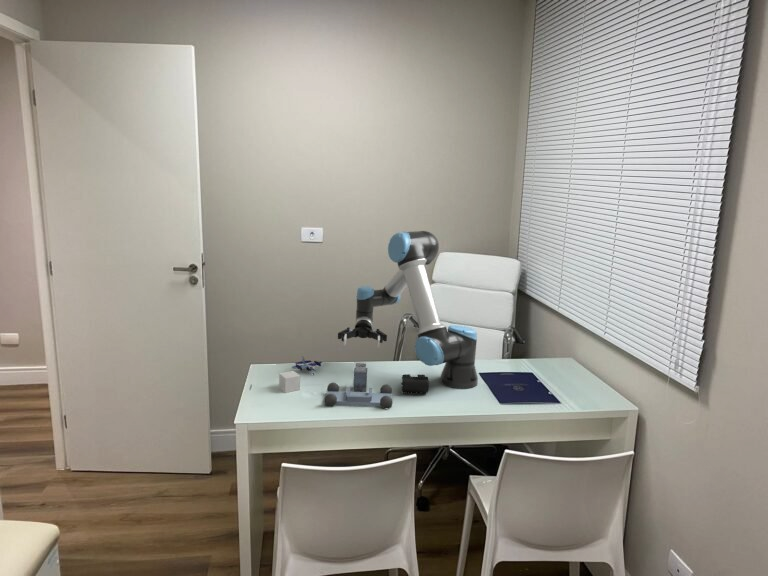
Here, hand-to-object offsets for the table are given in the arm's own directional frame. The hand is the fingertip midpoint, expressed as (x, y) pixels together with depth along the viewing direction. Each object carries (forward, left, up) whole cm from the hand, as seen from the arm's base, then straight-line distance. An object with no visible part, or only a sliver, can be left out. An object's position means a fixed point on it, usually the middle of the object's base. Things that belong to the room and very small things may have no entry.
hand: (361, 343), depth 229 cm
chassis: (0, +21, -16) cm, 26 cm away
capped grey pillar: (0, +10, -16) cm, 19 cm away
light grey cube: (+27, +12, -16) cm, 33 cm away
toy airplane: (+22, -7, -16) cm, 28 cm away
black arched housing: (-21, +11, -16) cm, 29 cm away
